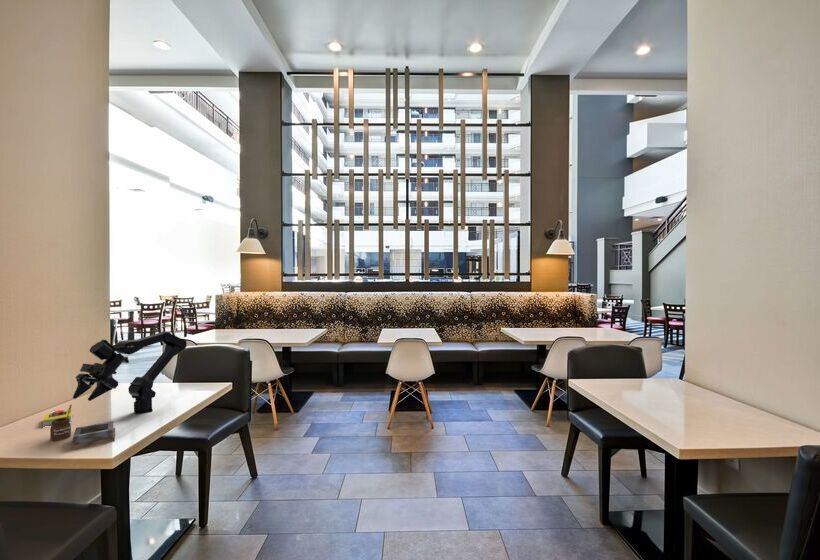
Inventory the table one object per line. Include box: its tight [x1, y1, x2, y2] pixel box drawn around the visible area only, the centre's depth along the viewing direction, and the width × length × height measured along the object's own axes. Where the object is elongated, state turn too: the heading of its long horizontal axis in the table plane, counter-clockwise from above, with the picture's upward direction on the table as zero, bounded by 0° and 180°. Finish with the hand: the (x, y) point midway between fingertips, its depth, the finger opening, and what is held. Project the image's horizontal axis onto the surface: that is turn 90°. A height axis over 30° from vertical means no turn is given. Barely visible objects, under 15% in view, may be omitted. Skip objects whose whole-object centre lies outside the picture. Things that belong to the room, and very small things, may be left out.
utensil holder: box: [49, 403, 72, 441], centre depth 152 cm, size 6×6×12 cm
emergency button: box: [42, 409, 73, 427], centre depth 171 cm, size 9×4×15 cm
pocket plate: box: [70, 420, 116, 450], centre depth 150 cm, size 12×12×4 cm
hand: (81, 399), depth 159 cm, fingers open, 9 cm apart
